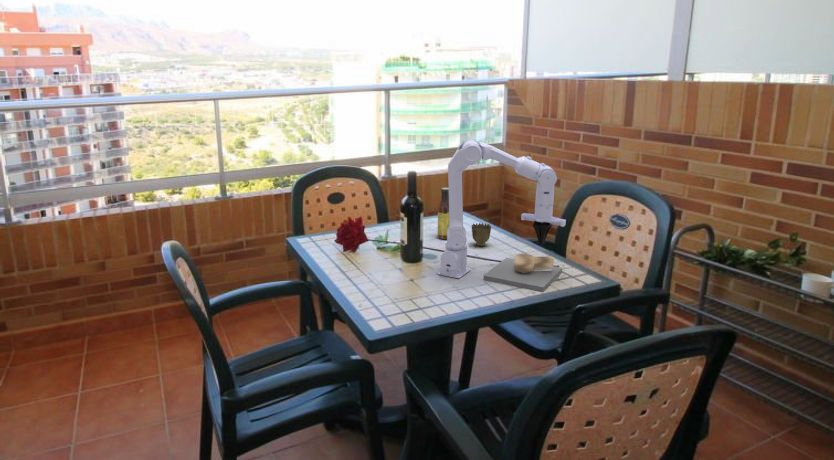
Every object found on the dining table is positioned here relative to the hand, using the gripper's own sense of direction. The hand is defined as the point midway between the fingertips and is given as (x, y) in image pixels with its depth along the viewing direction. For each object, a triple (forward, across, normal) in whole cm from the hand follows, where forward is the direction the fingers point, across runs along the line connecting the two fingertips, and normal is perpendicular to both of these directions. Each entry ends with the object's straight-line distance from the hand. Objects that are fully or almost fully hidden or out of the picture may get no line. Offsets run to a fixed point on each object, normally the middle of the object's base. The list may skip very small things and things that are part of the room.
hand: (541, 243), depth 202 cm
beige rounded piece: (+8, -1, -3) cm, 9 cm away
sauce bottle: (+11, -46, +17) cm, 50 cm away
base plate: (+10, -4, -5) cm, 12 cm away
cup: (+11, -30, +16) cm, 35 cm away
